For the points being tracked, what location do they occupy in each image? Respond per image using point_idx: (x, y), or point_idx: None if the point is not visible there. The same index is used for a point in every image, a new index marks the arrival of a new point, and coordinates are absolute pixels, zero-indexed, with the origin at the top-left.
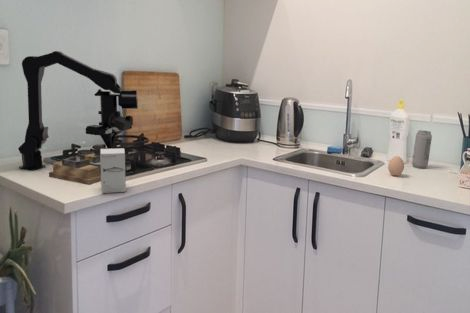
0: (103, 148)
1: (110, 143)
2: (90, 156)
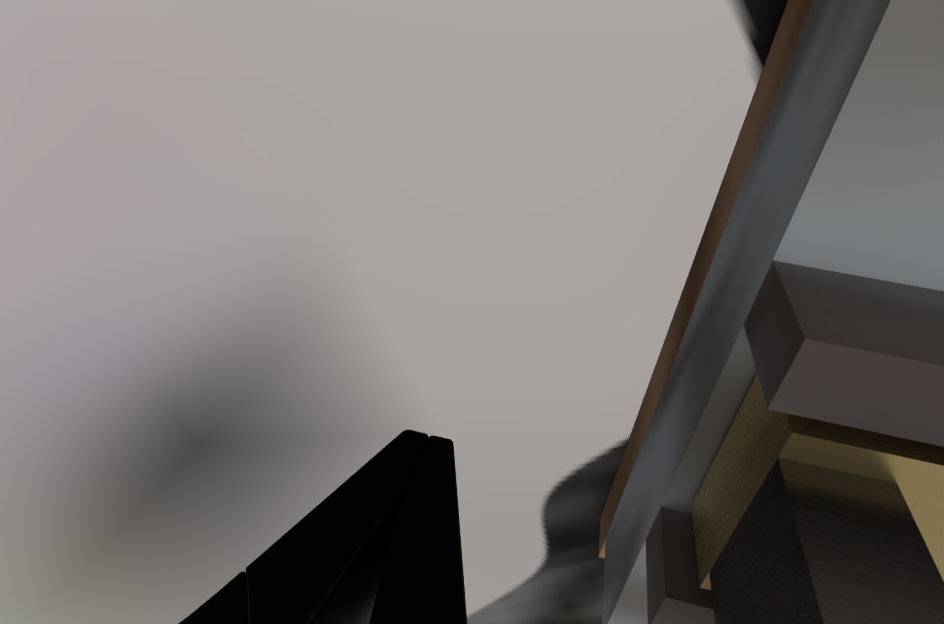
0: (833, 584)
1: (446, 594)
2: None
